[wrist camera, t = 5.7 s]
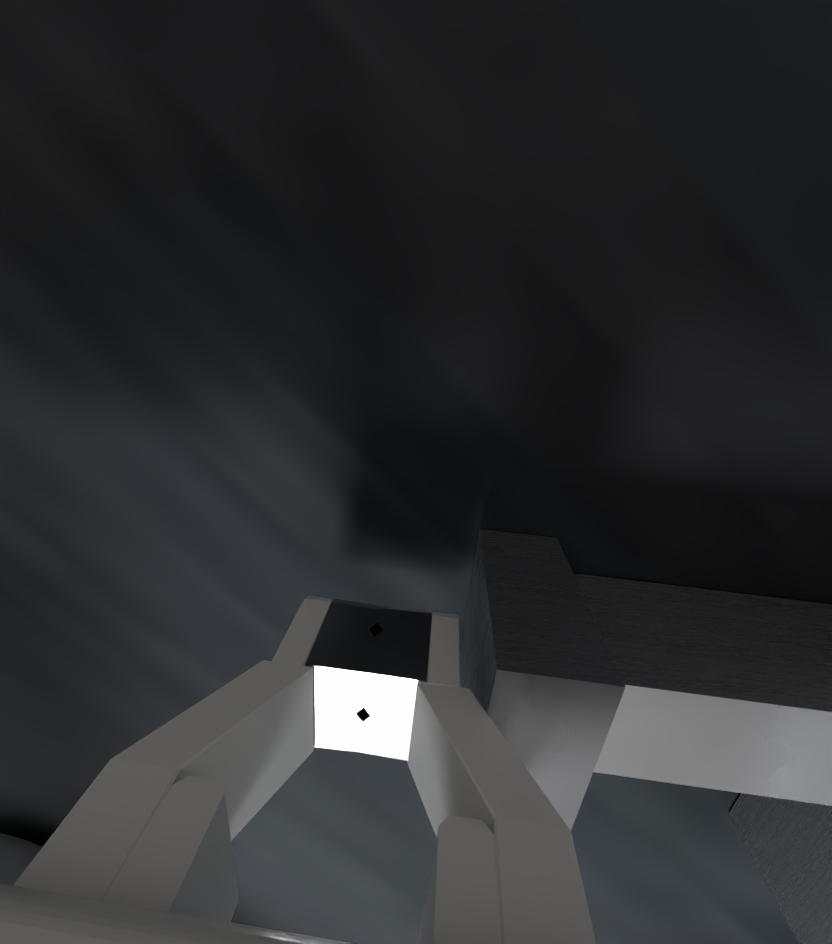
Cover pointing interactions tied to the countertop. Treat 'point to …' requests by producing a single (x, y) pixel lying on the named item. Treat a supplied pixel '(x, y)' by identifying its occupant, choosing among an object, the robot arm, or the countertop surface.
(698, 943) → the countertop surface
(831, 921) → the socket block
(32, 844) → the plastic bottle
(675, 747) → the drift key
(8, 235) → the countertop surface
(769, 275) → the countertop surface
